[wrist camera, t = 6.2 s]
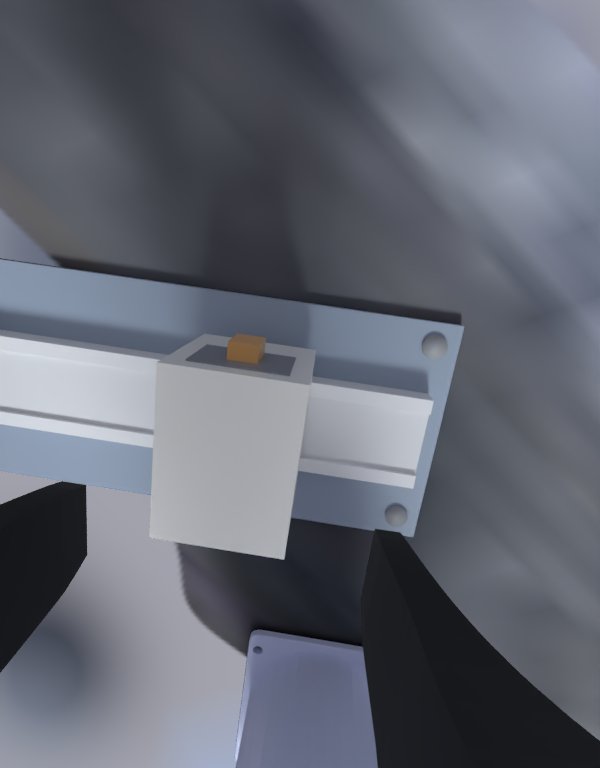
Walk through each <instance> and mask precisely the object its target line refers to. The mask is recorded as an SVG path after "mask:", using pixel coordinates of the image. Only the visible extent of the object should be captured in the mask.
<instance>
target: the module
mask: <svg viewBox="0 0 600 768" xmlns="http://www.w3.org/2000/svg"><path fill="white" fill-rule="evenodd" d="M315 355H316V350H313V349H306V348H299V347H293V346H286V345H279V344H272V343H266V338H265V337H258V336H251V335H244V334H236V335H235V336H234V337H232V338H231V337H225V336H218V335H211V334H203V335H202V336H200V337H198V338H197V339H195V340H193V341H192V342H190V343H188V344H186V345H185V346H183V347H181V348H180V349H178V350H176V351H175V352H173V353H171V354H170V355H168V356H166V357H165V358H163V359H161V360H160V361H158V362H157V366H156V390H155V414H154V437H153V461H152V485H151V508H150V533H149V538H154V539H160V540H166V541H172V542H178V543H184V544H190V545H197V546H203V547H209V548H215V549H221V550H227V551H233V552H240V553H246V554H252V555H258V556H264V557H270V558H276V559H282V560H284V558H285V552H286V545H287V539H288V533H289V527H290V521H291V515H292V508H293V502H294V496H295V490H296V484H297V477H298V470H299V463H300V457H301V450H302V443H303V436H304V430H305V423H306V416H307V409H308V403H309V396H310V389H311V382H312V376H313V369H314V362H315Z"/></svg>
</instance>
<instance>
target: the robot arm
mask: <svg viewBox="0 0 600 768" xmlns="http://www.w3.org/2000/svg"><path fill="white" fill-rule="evenodd" d="M86 556H87V518H86V485H83V484H76V483H70V482H63V481H62V482H59V483H55V484H53V485H49V486H46V487H44V488H41V489H38V490H36V491H33V492H31V493H28V494H26V495H23V496H21V497H18V498H16V499H13V500H11V501H8V502H6V503H4V504H1V505H0V672H1V671H2V670H3V669H4V667H5V666H6V665H7V664H8V662H9V661H10V660H11V659H12V657H13V656H14V655H15V654H16V652H17V651H18V650H19V649H20V648H21V646H22V645H23V644H24V643H25V641H26V640H27V639H28V638H29V636H30V635H31V634H32V633H33V631H34V630H35V629H36V628H37V626H38V625H39V624H40V623H41V621H42V620H43V619H44V618H45V616H46V615H47V614H48V612H49V611H50V610H51V609H52V607H53V606H54V605H55V603H56V602H57V601H58V600H59V598H60V597H61V596H62V594H63V593H64V592H65V590H66V589H67V587H68V586H69V584H70V582H71V581H72V579H73V578H74V576H75V574H76V573H77V571H78V569H79V568H80V566H81V564H82V563H83V561H84V559H85V557H86ZM361 624H362V645H363V647H361V646H355V645H349V644H343V643H337V642H331V641H325V640H319V639H313V638H307V637H302V636H296V635H290V634H284V633H278V632H272V631H266V630H255V631H253V632H252V633H251V635H250V640H249V647H248V654H247V663H246V671H245V679H244V686H243V694H242V702H241V709H240V717H239V725H238V733H237V740H236V749H235V756H234V757H235V760H236V762H237V763H236V768H600V741H599V740H598V739H596V738H595V737H594V736H593V735H591V734H590V733H589V732H588V731H586V730H585V729H584V728H583V727H581V726H580V725H579V724H578V723H577V722H575V721H574V720H573V719H572V718H570V717H569V716H568V715H567V714H566V713H564V712H563V711H562V710H561V709H560V708H559V707H557V706H556V705H555V704H554V703H553V702H552V701H551V700H549V699H548V698H547V697H546V696H545V695H544V694H542V693H541V692H540V691H539V690H538V689H537V688H535V687H534V686H533V685H532V684H531V683H530V682H529V681H528V680H527V679H526V678H525V677H523V676H522V675H521V674H520V673H519V672H518V671H517V670H516V669H515V668H514V667H513V666H512V665H511V664H510V663H509V662H508V661H507V660H506V659H505V658H504V657H503V656H502V655H501V654H500V653H499V652H498V651H497V650H496V649H495V648H494V647H493V646H492V645H491V644H490V643H489V642H488V641H487V640H486V639H485V638H484V637H483V636H482V635H481V634H480V633H479V632H478V631H477V629H476V628H475V627H474V626H473V625H472V624H471V623H470V622H469V620H468V619H467V618H466V617H465V616H464V615H463V614H462V612H461V611H460V610H459V609H458V608H457V607H456V605H455V604H454V603H453V602H452V601H451V599H450V598H449V597H448V596H447V595H446V593H445V592H444V591H443V590H442V588H441V587H440V586H439V584H438V583H437V582H436V581H435V579H434V578H433V577H432V575H431V574H430V573H429V571H428V570H427V569H426V567H425V566H424V565H423V563H422V562H421V560H420V559H419V558H418V556H417V555H416V554H415V552H414V551H413V549H412V548H411V547H410V545H409V544H408V542H407V541H406V540H405V538H404V537H403V536H402V534H401V533H400V532H394V531H387V530H381V529H375V531H374V536H373V541H372V546H371V551H370V556H369V561H368V566H367V571H366V576H365V581H364V586H363V591H362V596H361ZM256 646H259V647H261V648H258V647H256Z"/></svg>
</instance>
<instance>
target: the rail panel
mask: <svg viewBox="0 0 600 768" xmlns="http://www.w3.org/2000/svg"><path fill="white" fill-rule="evenodd" d="M463 330H464V326H463V325H459V324H452V323H445V322H438V321H431V320H424V319H417V318H410V317H403V316H396V315H389V314H382V313H375V312H369V311H362V310H355V309H348V308H341V307H334V306H327V305H320V304H313V303H306V302H299V301H292V300H285V299H278V298H271V297H264V296H258V295H251V294H244V293H237V292H230V291H223V290H216V289H209V288H202V287H195V286H188V285H181V284H174V283H167V282H160V281H153V280H146V279H140V278H133V277H126V276H119V275H112V274H105V273H98V272H91V271H84V270H77V269H70V268H63V267H56V266H49V265H42V264H35V263H28V262H21V261H14V260H7V259H1V258H0V471H4V472H9V473H15V474H22V475H28V476H34V477H41V478H47V479H53V480H60V481H65V482H72V483H78V484H84V485H91V486H97V487H103V488H109V489H116V490H122V491H129V492H134V493H141V494H147V495H151V485H152V461H153V437H154V414H155V390H156V366H157V362H158V361H160V360H161V359H163V358H165V357H166V356H168V355H170V354H171V353H173V352H175V351H176V350H178V349H180V348H181V347H183V346H185V345H186V344H188V343H190V342H192V341H193V340H195V339H197V338H198V337H200V336H202V335H203V334H211V335H218V336H225V337H231V338H232V337H234V336H235V335H236V334H244V335H251V336H258V337H265V338H266V343H272V344H279V345H286V346H293V347H299V348H306V349H313V350H316V355H315V362H314V369H313V376H312V382H311V389H310V396H309V403H308V409H307V416H306V423H305V430H304V436H303V443H302V450H301V457H300V463H299V470H298V477H297V484H296V490H295V496H294V502H293V508H292V515H291V518H297V519H303V520H309V521H315V522H322V523H328V524H334V525H340V526H347V527H353V528H359V529H365V530H372V531H375V529H381V530H387V531H394V532H400V533H401V534H402V535H403V536H409V537H413V536H414V532H415V528H416V524H417V520H418V516H419V511H420V507H421V503H422V499H423V495H424V491H425V487H426V483H427V479H428V474H429V470H430V466H431V462H432V458H433V454H434V450H435V446H436V441H437V437H438V433H439V429H440V425H441V421H442V417H443V413H444V409H445V404H446V400H447V396H448V392H449V388H450V384H451V380H452V376H453V372H454V367H455V363H456V359H457V355H458V351H459V347H460V343H461V339H462V335H463Z"/></svg>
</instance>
